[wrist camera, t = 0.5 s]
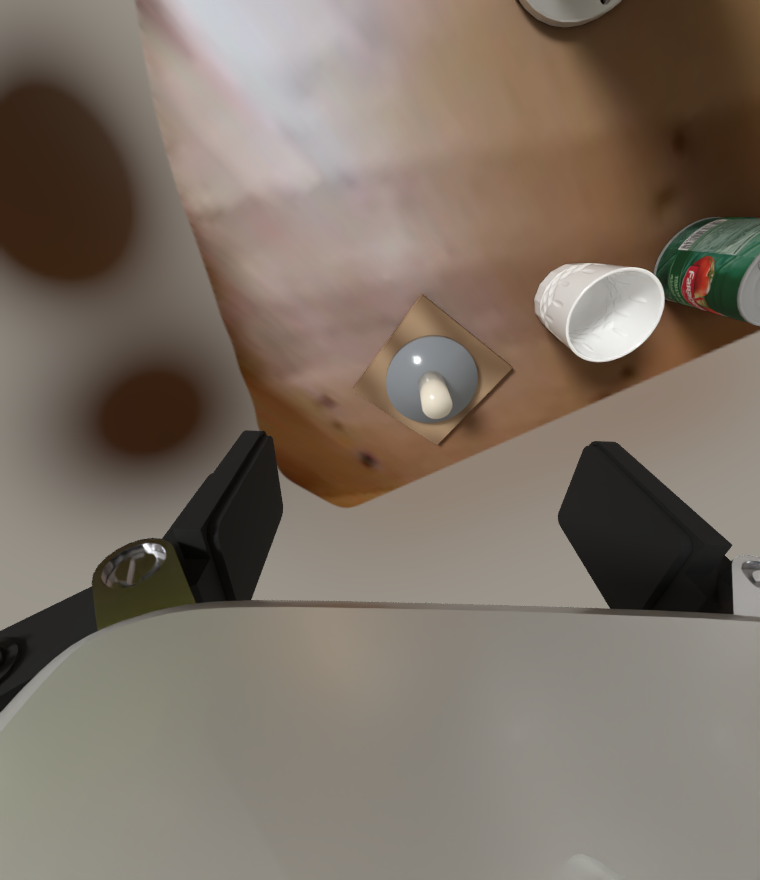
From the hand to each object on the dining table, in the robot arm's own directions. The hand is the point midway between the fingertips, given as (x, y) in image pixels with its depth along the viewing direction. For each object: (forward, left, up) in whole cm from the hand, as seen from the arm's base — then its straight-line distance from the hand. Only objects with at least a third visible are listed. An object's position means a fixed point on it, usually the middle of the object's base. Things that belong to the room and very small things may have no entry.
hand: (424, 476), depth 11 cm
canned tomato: (-20, +23, -33) cm, 45 cm away
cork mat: (+6, +9, -33) cm, 35 cm away
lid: (+6, +9, -32) cm, 34 cm away
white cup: (-10, +15, -33) cm, 38 cm away
